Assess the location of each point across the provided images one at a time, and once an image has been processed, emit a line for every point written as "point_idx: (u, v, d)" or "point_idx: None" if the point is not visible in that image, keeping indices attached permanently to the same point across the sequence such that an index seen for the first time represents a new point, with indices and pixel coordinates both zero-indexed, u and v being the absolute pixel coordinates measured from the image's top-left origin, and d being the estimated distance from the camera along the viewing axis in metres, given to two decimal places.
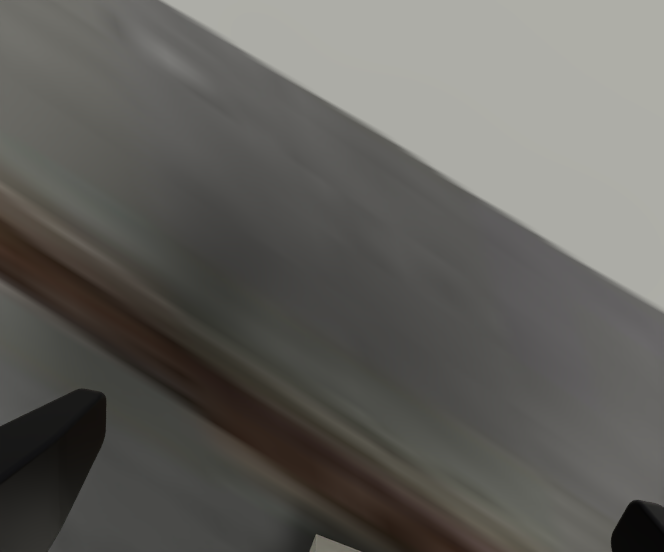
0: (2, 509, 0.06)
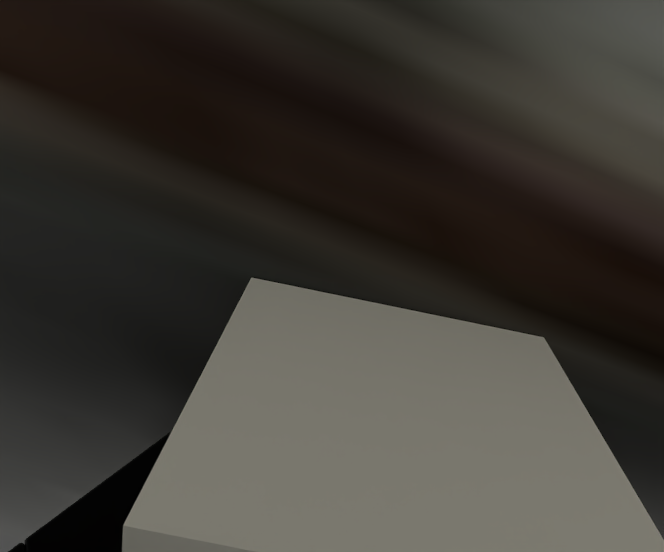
0: None
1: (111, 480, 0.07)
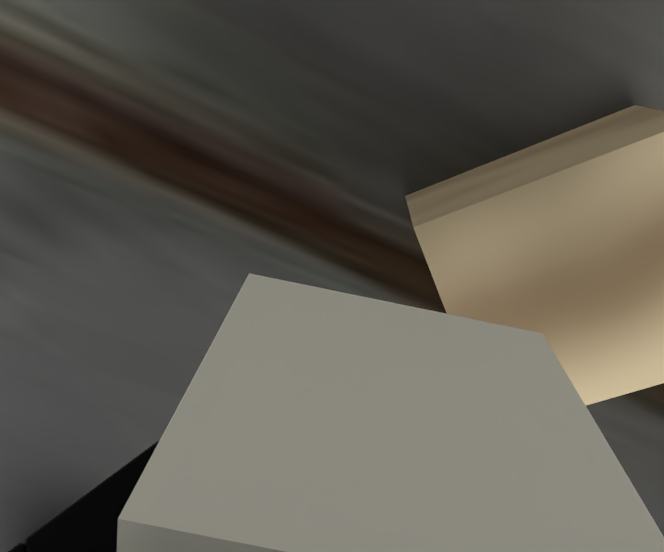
0: None
1: (112, 479, 0.07)
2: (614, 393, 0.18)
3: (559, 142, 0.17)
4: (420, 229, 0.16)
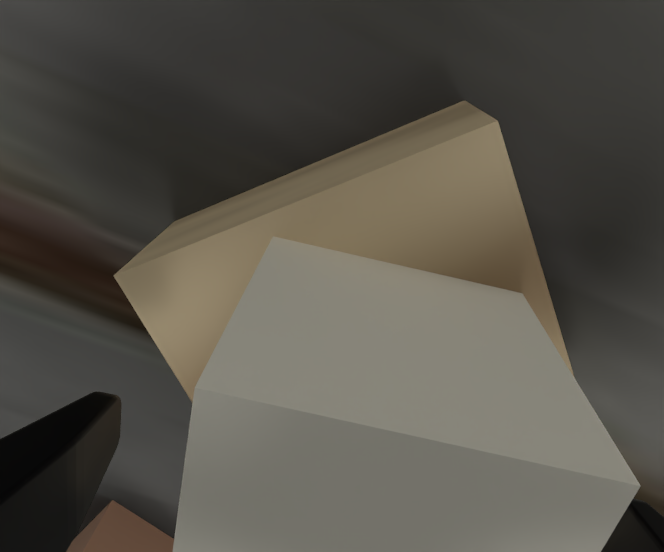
0: (23, 513, 0.06)
1: None
2: None
3: (354, 151, 0.12)
4: (123, 278, 0.11)
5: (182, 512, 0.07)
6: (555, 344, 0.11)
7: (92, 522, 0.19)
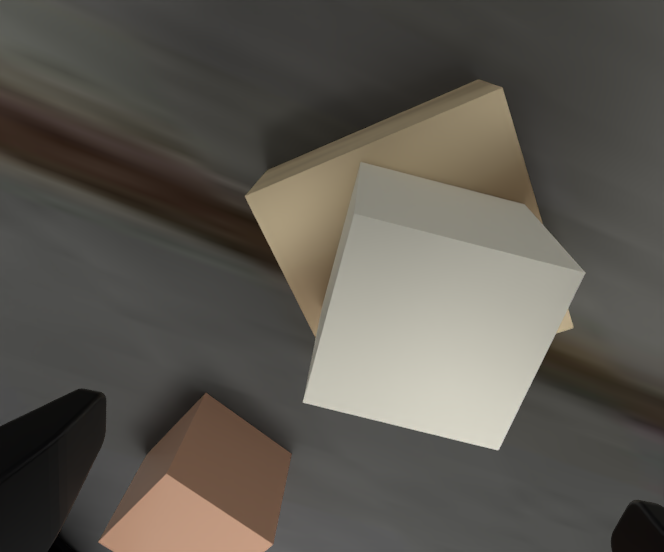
0: (2, 509, 0.06)
1: None
2: None
3: (401, 115, 0.18)
4: (251, 198, 0.16)
5: (335, 292, 0.12)
6: None
7: (189, 411, 0.24)
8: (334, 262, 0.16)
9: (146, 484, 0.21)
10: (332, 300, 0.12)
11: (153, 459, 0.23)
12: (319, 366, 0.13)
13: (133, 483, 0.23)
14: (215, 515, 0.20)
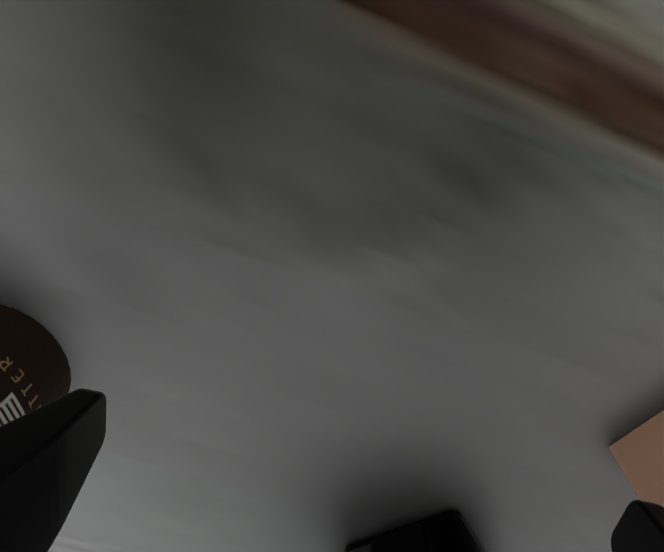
0: (2, 509, 0.06)
1: None
2: None
3: None
4: None
5: None
6: None
7: None
8: None
9: None
10: None
11: None
12: None
13: (641, 476, 0.22)
14: None
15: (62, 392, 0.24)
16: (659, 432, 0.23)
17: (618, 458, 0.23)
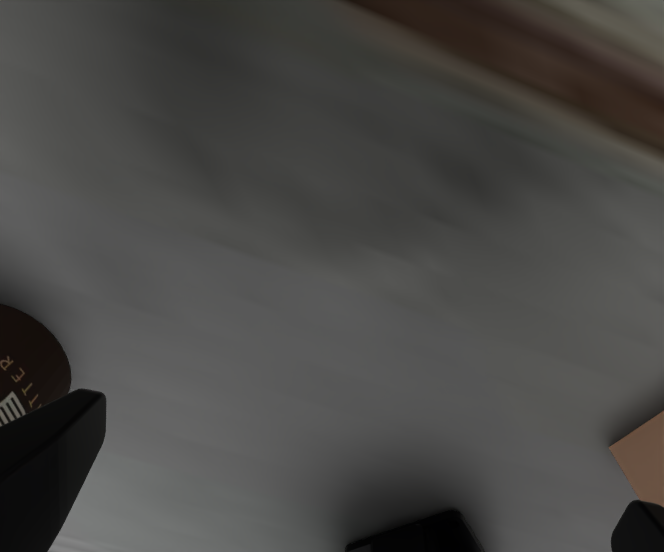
0: (2, 509, 0.06)
1: None
2: None
3: None
4: None
5: None
6: None
7: None
8: None
9: None
10: None
11: None
12: None
13: (641, 477, 0.22)
14: None
15: (62, 391, 0.24)
16: (660, 433, 0.23)
17: (619, 458, 0.23)
